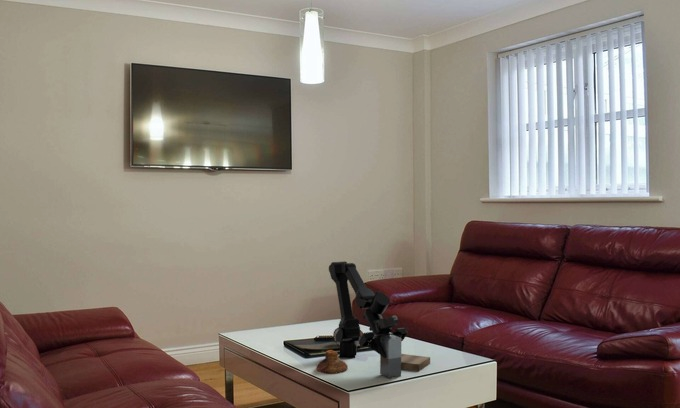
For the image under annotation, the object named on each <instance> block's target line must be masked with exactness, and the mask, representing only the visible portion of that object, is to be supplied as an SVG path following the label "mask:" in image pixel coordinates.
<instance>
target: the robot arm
mask: <svg viewBox="0 0 680 408" xmlns="http://www.w3.org/2000/svg"><path fill="white" fill-rule="evenodd" d="M328 272H329V274H330V278H331V280H332V281H333V282H334V283H335V286H336V287H335V288H336V293H337V300H338V305H339V311H340V320H339V323H338V327H339V330H338V332H337V334H336V335H335V338H336V341H337V342H339V343H340V345H339V354H338V358H339V359H340V358H343V359H345V358H346V359H347V358H352V359H353V358H356V356H357V348H358V347H357V344H355V341H359V344H360V348H368V349H371V350H372V351H374V352H376V353H377V354H379V356H380V355H381V356H382V357H383V358H386V357H387V356H386V353H385V351H384V349H383V347H382V345H381V336H387V335H395V336H397V337H400V338H401V342H403V341H404V339H405V338H406V337H407V336H408V334H409V332H408V330H407V328H406V327H400V328H399V327H398V328H395V330H394V331H393V332H391V331H392V330H393V328H394V327H397V325H399V318H398V316H397V315H391V316H389V317H385V318H384V317H383V316H382V314H384V313H385V311H386V310H387V308H388V307H389V304H390V303H391V299H390V297H389V296H388V295H387V294H385V293H383V292H382V291H381V290H380V291H376V292H375V293H374V291H373V290H372V289H371V288H368V287H367V286H366V284H365V282H364V281H363V278H362V277H361V275H360V273H359V271H358V270H357V266H356V263H353V262H349V263H348V262H347V261H334V262H333V261H331V263H330V265H329V266H328ZM348 282H349V284H350V286H351V288H352V290H353V292H354V293H355V298H354V300H355V302H356V306H357V307H358V308H359V310H360V309H361V310H365V309H366V310H365V311H364V313H363V315H362V319H364V320H366V321H367V322H368V325H369V327H368V330H369V331H368V332H363V335H362V337H361V338H360V340H359V337H360V332H361V331H362V330H361V327H360V321H359V319H358V318H356V317H355V316H354V314H353V308H352V302H351V296H350V290H349V284H348Z"/></svg>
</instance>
